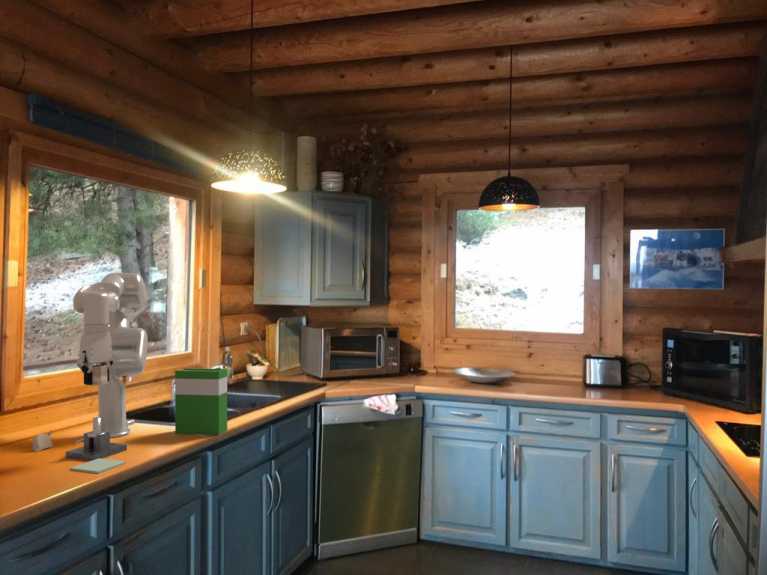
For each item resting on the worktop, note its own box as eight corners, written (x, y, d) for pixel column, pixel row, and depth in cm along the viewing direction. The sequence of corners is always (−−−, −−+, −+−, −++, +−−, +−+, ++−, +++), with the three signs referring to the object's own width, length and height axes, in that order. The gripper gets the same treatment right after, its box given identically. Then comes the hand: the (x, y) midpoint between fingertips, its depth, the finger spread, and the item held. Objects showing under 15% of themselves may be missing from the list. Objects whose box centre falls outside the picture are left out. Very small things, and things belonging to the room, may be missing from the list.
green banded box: (175, 433, 227) (175, 370, 227) (184, 429, 234) (184, 368, 234) (218, 435, 224) (218, 371, 224) (227, 430, 231) (227, 368, 231)
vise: (98, 447, 208) (98, 412, 208) (126, 450, 203) (126, 414, 204) (64, 457, 195) (64, 420, 195) (93, 461, 190) (93, 423, 190)
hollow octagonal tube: (96, 381, 203) (96, 364, 203) (111, 382, 201) (111, 365, 201) (81, 384, 197) (81, 366, 197) (96, 385, 195) (96, 367, 195)
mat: (98, 460, 192) (98, 458, 192) (125, 463, 188) (125, 461, 188) (70, 469, 181) (70, 467, 181) (98, 473, 177) (98, 471, 177)
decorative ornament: (28, 451, 203) (28, 435, 203) (49, 445, 211) (49, 429, 211) (36, 452, 202) (36, 436, 202) (58, 446, 210) (58, 430, 210)
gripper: (107, 327, 209) (108, 378, 209) (66, 331, 192) (66, 386, 192) (124, 327, 206) (125, 379, 206) (84, 331, 190) (84, 387, 190)
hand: (96, 382), depth 199 cm, fingers closed on hollow octagonal tube, 6 cm apart
